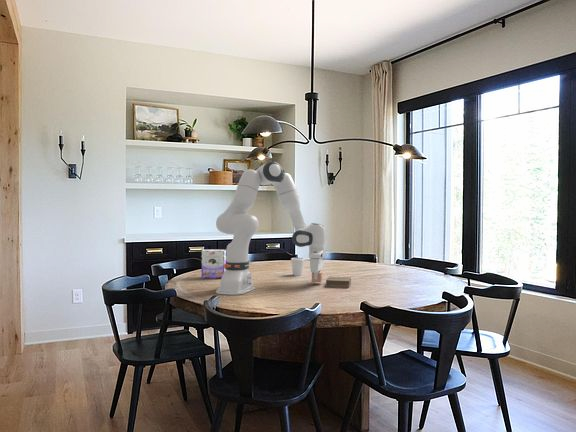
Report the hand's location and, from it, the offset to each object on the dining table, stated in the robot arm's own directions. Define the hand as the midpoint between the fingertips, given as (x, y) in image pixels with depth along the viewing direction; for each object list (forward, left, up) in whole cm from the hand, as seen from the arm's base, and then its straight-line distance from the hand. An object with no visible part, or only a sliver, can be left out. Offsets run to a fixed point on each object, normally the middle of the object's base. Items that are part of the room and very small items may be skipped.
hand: (317, 278), depth 256 cm
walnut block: (-1, -12, -3) cm, 13 cm away
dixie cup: (+26, +16, -3) cm, 30 cm away
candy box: (+6, +62, -3) cm, 62 cm away
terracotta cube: (0, 0, -2) cm, 2 cm away
